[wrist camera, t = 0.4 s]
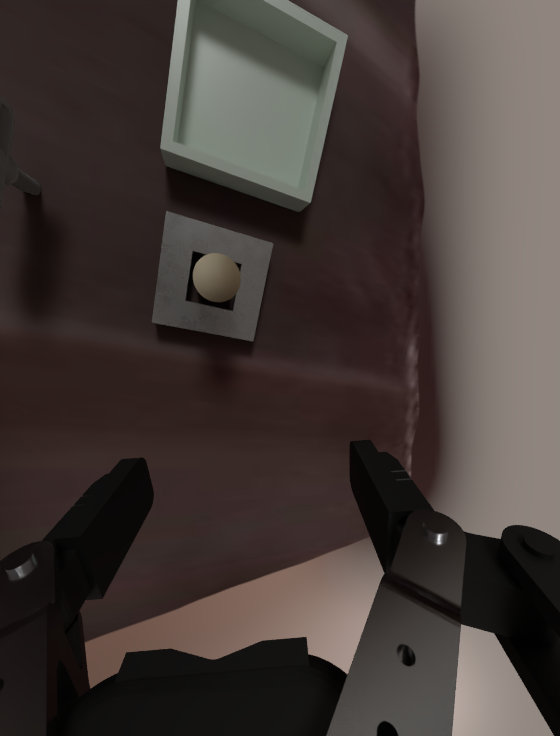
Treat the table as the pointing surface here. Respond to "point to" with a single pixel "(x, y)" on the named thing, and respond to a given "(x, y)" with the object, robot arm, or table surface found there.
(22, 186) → the mechanical component
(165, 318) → the socket block
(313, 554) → the table surface
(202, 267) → the dowel
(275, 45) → the tray
